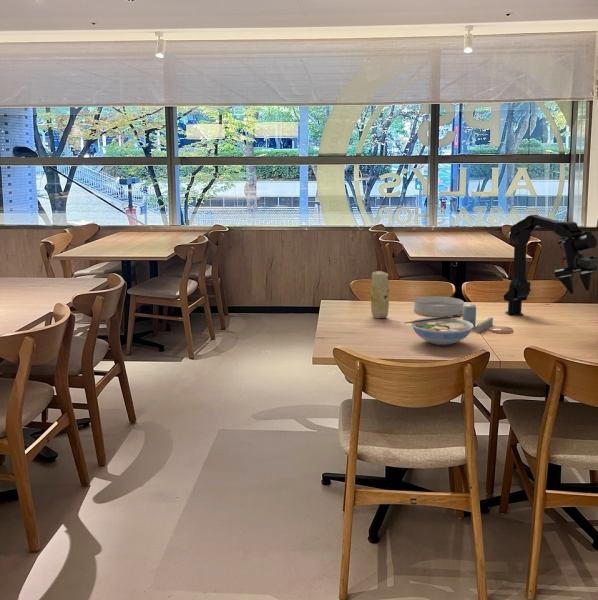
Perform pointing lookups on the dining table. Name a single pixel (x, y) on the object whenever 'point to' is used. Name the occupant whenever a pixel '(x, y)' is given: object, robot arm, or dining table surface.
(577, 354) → the dining table surface
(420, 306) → the dish
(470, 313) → the salt shaker
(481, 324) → the acrylic divider
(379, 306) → the food model
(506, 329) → the coaster
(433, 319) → the ramen bowl
